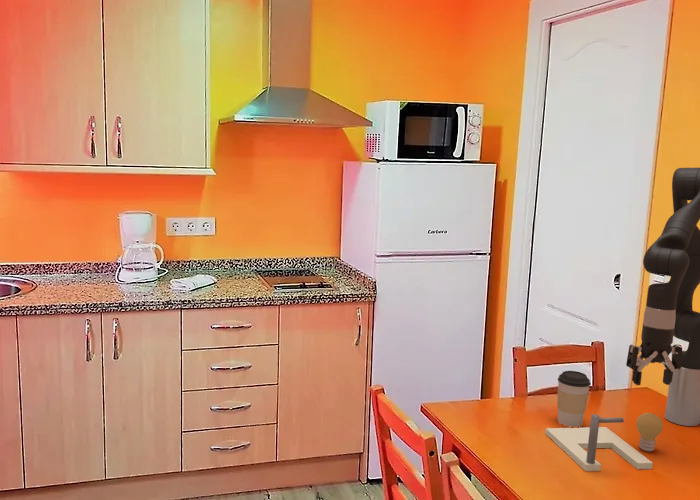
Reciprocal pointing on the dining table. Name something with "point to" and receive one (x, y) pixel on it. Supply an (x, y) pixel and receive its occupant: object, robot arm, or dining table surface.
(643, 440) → the light bulb
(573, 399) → the coffee cup
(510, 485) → the dining table surface
